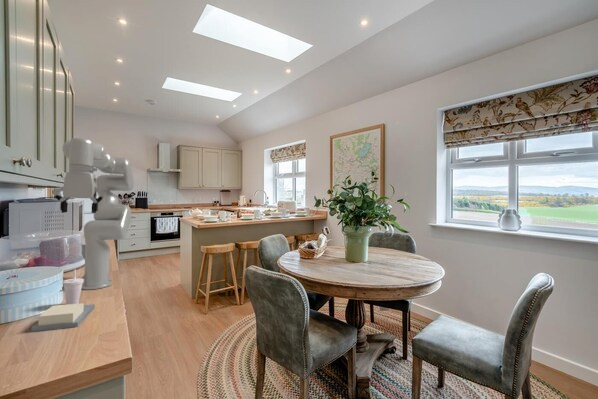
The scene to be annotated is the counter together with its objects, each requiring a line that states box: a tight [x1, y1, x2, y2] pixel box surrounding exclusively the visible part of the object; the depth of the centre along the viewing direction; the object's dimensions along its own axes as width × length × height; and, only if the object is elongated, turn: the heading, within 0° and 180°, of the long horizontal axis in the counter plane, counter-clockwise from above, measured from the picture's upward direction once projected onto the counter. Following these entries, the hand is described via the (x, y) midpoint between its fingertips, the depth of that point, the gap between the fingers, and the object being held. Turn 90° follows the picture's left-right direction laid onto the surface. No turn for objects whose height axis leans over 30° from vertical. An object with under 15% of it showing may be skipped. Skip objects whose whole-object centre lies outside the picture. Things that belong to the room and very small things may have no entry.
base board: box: [30, 302, 96, 333], centre depth 95 cm, size 16×12×4 cm
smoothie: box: [62, 269, 84, 305], centre depth 107 cm, size 6×6×14 cm
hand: (79, 212), depth 108 cm, fingers open, 9 cm apart
